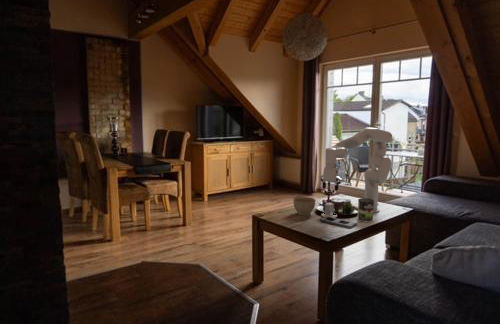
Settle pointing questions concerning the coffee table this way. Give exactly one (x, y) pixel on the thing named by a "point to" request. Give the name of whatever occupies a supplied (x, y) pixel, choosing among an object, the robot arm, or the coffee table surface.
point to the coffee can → (365, 210)
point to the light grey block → (329, 209)
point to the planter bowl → (304, 205)
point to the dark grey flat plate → (338, 222)
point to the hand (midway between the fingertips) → (330, 189)
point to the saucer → (329, 216)
